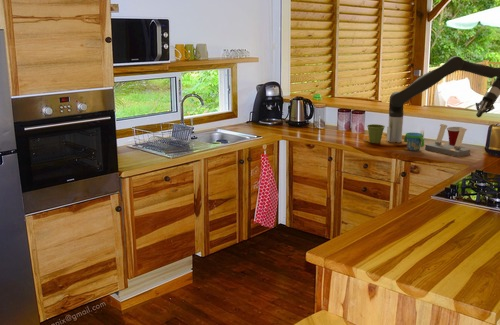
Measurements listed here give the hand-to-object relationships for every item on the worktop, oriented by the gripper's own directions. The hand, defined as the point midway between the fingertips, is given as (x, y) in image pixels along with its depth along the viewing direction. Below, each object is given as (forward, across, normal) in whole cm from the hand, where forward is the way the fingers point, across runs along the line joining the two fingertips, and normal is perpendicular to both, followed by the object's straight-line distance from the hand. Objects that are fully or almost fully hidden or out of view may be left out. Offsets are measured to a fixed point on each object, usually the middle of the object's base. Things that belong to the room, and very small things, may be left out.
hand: (477, 116), depth 344 cm
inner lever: (+25, -14, 0) cm, 29 cm away
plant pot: (+40, -51, -9) cm, 66 cm away
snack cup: (+38, -22, -6) cm, 44 cm away
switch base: (+28, -7, +2) cm, 29 cm away
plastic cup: (+16, -14, +15) cm, 26 cm away
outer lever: (+25, 0, 0) cm, 25 cm away
